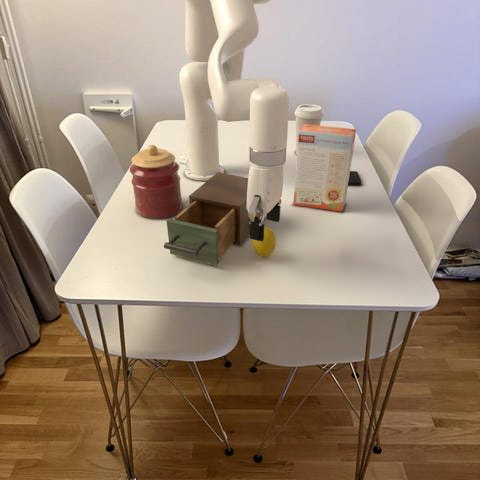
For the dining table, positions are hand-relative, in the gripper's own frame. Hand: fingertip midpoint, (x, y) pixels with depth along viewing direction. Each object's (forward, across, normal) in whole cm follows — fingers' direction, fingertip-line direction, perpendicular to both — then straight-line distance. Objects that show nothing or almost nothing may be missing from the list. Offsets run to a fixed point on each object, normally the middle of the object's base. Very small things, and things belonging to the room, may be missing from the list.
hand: (265, 229), depth 105 cm
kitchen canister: (+7, -11, -36) cm, 39 cm away
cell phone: (+7, -50, +2) cm, 51 cm away
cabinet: (+7, -10, -14) cm, 19 cm away
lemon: (+8, 0, 0) cm, 8 cm away
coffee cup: (+7, -68, -12) cm, 70 cm away
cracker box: (+7, -32, +4) cm, 33 cm away
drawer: (+6, +4, -14) cm, 16 cm away
